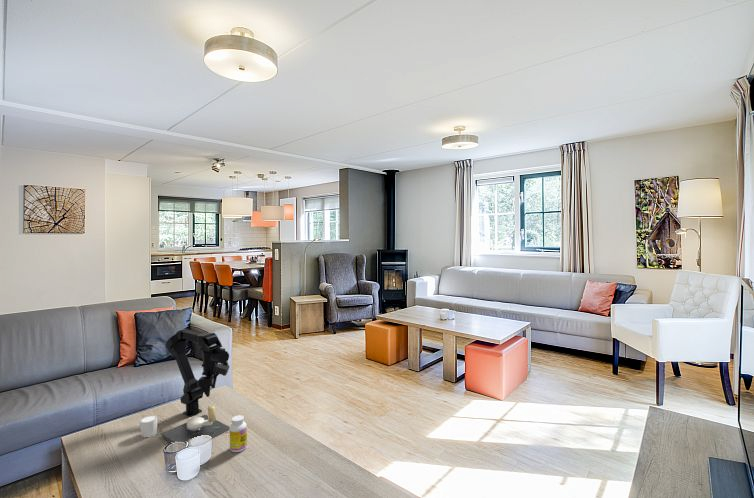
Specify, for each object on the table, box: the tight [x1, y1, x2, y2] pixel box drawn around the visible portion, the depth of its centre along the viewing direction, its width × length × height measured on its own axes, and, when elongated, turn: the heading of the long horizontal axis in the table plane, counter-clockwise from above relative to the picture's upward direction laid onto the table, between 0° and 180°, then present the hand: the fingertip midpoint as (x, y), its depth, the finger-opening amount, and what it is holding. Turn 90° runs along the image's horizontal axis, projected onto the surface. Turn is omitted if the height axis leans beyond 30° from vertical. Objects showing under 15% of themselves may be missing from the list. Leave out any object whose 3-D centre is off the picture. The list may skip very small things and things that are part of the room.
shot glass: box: [139, 414, 158, 439], centre depth 162 cm, size 7×7×7 cm
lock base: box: [161, 414, 230, 444], centre depth 162 cm, size 20×20×3 cm
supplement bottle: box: [228, 414, 248, 453], centre depth 150 cm, size 7×7×13 cm
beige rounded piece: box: [186, 405, 217, 430], centre depth 162 cm, size 12×7×8 cm, turn 98°
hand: (210, 392), depth 174 cm, fingers open, 9 cm apart
